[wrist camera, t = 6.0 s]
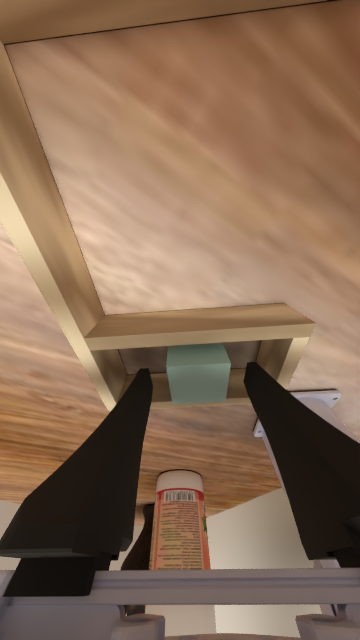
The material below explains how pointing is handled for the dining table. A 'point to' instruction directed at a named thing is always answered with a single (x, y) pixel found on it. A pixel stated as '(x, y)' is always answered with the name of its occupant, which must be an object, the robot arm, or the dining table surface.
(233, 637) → the robot arm
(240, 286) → the dining table surface
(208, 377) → the teal block
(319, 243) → the dining table surface
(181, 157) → the dining table surface
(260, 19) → the dining table surface
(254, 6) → the organiser frame
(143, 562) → the jug
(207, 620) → the fruit juice
